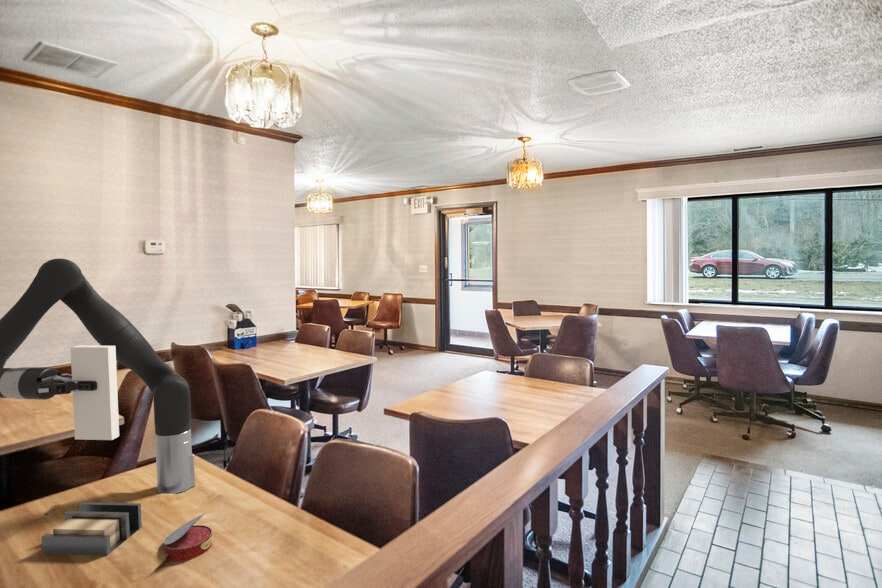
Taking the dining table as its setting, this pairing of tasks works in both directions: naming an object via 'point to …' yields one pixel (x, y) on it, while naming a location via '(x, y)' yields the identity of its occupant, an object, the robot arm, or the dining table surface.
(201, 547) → the canned food
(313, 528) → the dining table surface
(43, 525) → the dining table surface
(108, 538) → the rack
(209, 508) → the dining table surface
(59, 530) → the offcut top
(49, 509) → the shard
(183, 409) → the robot arm
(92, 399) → the white rectangular board
